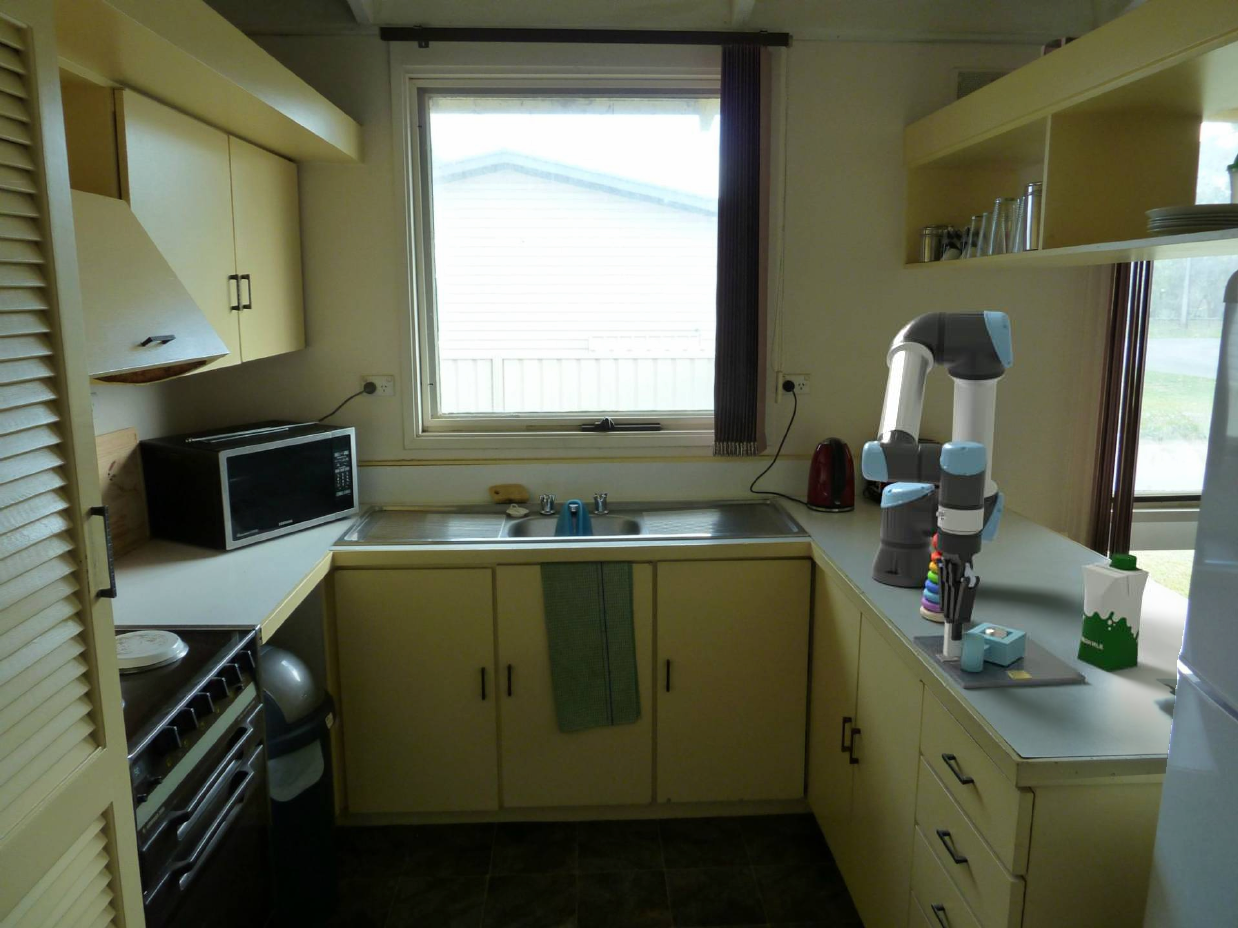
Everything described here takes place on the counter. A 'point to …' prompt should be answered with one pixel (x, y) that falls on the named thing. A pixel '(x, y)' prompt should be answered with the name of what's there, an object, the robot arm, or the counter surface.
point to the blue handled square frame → (991, 647)
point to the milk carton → (1112, 613)
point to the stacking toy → (932, 590)
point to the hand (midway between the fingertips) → (952, 654)
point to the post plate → (1023, 671)
